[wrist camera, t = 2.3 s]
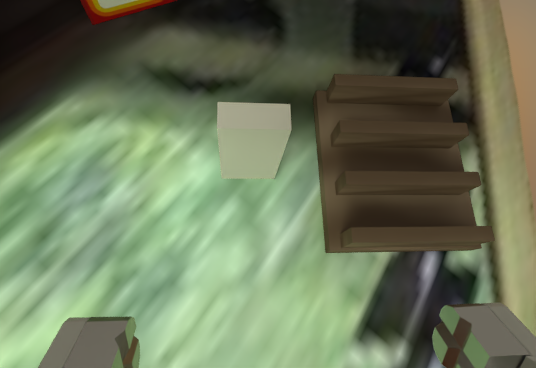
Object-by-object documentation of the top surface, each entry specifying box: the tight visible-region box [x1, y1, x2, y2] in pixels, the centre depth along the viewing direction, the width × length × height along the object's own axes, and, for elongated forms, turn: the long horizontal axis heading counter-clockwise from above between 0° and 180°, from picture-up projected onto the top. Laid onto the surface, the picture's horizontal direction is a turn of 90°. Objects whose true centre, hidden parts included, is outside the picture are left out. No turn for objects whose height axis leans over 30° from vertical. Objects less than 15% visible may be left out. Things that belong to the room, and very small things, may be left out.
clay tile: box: [217, 102, 292, 179], centre depth 28 cm, size 2×5×10 cm, turn 92°
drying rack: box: [313, 74, 495, 253], centre depth 32 cm, size 16×14×4 cm
